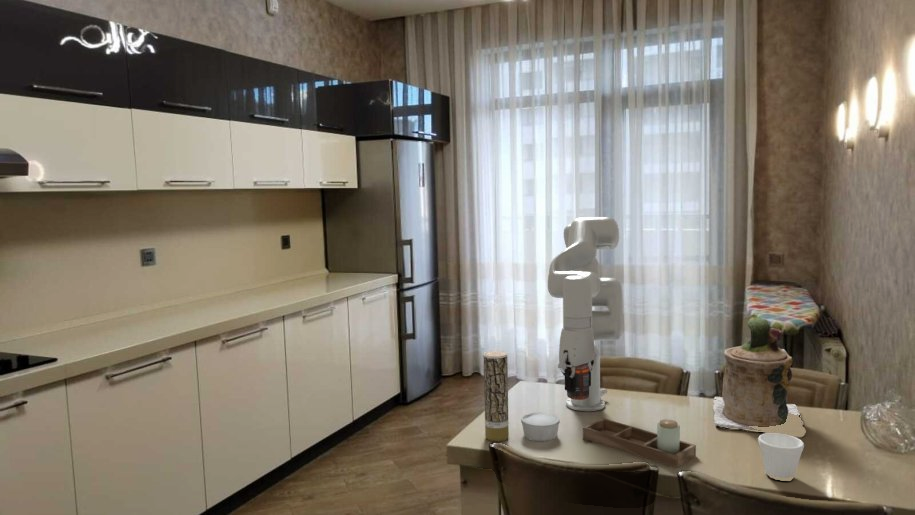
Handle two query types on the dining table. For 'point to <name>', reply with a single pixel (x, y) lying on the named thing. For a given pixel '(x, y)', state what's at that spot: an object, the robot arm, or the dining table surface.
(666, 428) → the sage jar
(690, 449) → the rack
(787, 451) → the cup
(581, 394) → the supplement bottle
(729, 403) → the cookie jar
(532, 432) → the ramekin
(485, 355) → the bark-patterned cylinder
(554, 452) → the dining table surface
